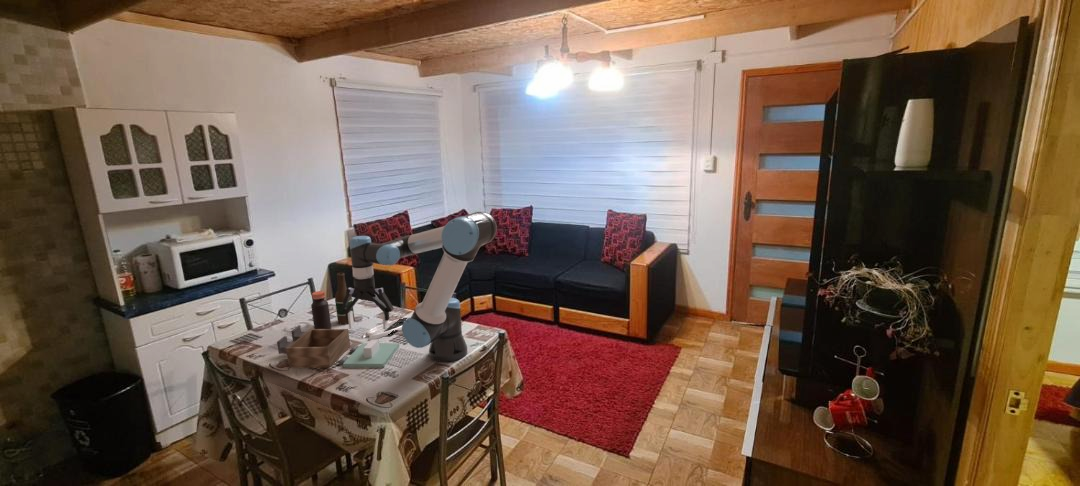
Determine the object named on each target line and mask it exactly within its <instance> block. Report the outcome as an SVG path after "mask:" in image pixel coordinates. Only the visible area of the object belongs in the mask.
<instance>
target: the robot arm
mask: <svg viewBox="0 0 1080 486" xmlns="http://www.w3.org/2000/svg"><path fill="white" fill-rule="evenodd" d="M497 231H498V226H497V222H496V219H495V218H494V217H493V216H492V215H491V214H489V213H487V212H485V211H475V212H472V213H469V214H465V215H461V216H457V217H455V218H453V219H450V220H449V221H448V222H447V223H445V225H444V226H441V227H437V228H431V229H429V230H425V231H421V232H418V233H417V232H416V233H413V234H411V235H404V236H402V237H399V238H396V239H393V240H389V241H386V242H383V243H375V242H372V239H371V237H370V236H368V235H357V236H353V237H351V238H350V239H349V250H350V258H351V259H350V260H351V266H352V267H351V268H352V278H353V287H354V288H353V287H351V286H349V287H347V290H346V296H345V299H344V301H343V304H342V306H341V308H340V311H341V312H342V311H343V312H345V313H346V320H348V321H349V324H348V330H352V329H353V328H355V323H354V322H355V319H354V320H353V311H354V310H353V311H350V310H351V309H352V307H353V308H354V306H355V305H356V304H357V303H358V301H359V300H360V301H364V300H365V301H370V300H371V302H373V303H374V304H376V306H377V307H378V308H379V309H380V310H381V311H382V314H381V316H382V324H383V330H386V329H387V328H388V327H389V326H388V322H389V320H390V313H391V312H392V311H394V306H393V305H392V303H391V300H389V297H388V296H387V295H386V293H385V289H384V287H380V288H377V287H376V283H375V275H374V274H375V272H374V271H375V270H374V264H376V265H382V266H394V265H396V264H397V262H398V261H399V260H401V259H402V258H405V257H408V256H412V255H416V254H420V253H421V254H422V253H425V252H429V251H432V250H437V249H438V250H439V249H441V248H442V251H443V255H442V257H441V259H440V261H439V263H438V265H437V269H436V271H435V272H434V275H433V277H432V280H431V282H430V284H429V286H428V288H427V291H426V294H425V296H424V297H423V300H422V302H420V303H417V305H416V306H415V308H414V311H413V313H412V315H411V316H409V317H410V318H408V319H407V320H406V321H404V322H403V323H402V325H401V326H402V330H401V333H402V335H403V337H404V339H405V340H406V342H407V343H408V344H409V346H410V345H411V346H412V347H414V348H416V349H422V348H425V347H427V346H429V349H428V355H429V356H428V357H429V359H431V360H432V361H434V362H435V361H436V362H438V363H439V362H442V363H446V362H454V361H458V360H460V359H462V358H464V357H465V356H467V354H468V346H467V345H468V344H467V343H466V340H465V338H464V335H463V330H462V313H461V309H462V307H461V302H460V300H459V299H457V298H455V297H453V295H454V293H455V290H456V289H457V286H458V284H459V282H460V279H461V277H462V275H463V273H464V270H465V269H466V266H467V265H468V263H470V262H471V263H472V262H473V261H474V259H475V258H476V255H477V254H478V251H479V250H480V248H481V247H483V246H484V245H486V244H489V243H490V242H492V241H493V240H494V238H495V237H496V234H497ZM376 293H377V294H376ZM353 294H355V297H354V298H353V299H352V302H351V304H350V305H349V306H348V308H346V306H347V304H348V302H349V299H350V297H351V296H352V295H353ZM378 296H379V297H378Z"/></svg>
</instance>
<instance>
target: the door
mask: <svg viewBox="0 0 1080 486" xmlns="http://www.w3.org/2000/svg"><path fill="white" fill-rule="evenodd" d="M379 339H380V338H378V339H371V340H369V341H368V342H366V343H365V342H363V343H361V344H360V345H358V344H354V345H353V346H352V347H350V348H349V353H350V356H349V357H348V356H347V355H344V356H342V357H341V358H340V360H338V365H339V366H342V367H343V368H350V369H351V368H353V369H355V368H361V369H362V368H363V369H364V368H367V369H368V368H371V369H372V368H375V369H376V368H379V369H380V368H385V367H386V365H387V364H388V362H389V361H390V360H391V358H392V357H393V356H394V354H396V351H398V349H399V348H400V343H397V342H394V343H391V342H390V343H389V342H388V343H387V342H385V343H383V342H380V341H379Z"/></svg>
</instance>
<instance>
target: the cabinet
mask: <svg viewBox="0 0 1080 486" xmlns="http://www.w3.org/2000/svg"><path fill="white" fill-rule="evenodd" d="M291 337H292V341H288V336H287V335H285V336H283V337H281V338H280V339H278V340H277V341H276V344H277V345H276V346H277V350H278V355H286V356H287V362H288V368H290V367H293V368H294V367H296V368H297V369H298V368H299V367H300V368H303V369H304V368H310V369H311V368H318V369H319V368H321V369H322V368H331V367H332V366H333V365H334V364H335V363H336V362H338V361H339V359H341V358H342V357H343V355H344V354H345V353H346V352H347V351H348V350H350V349H351V342H350V341H351V340H350V332H349V328H331V329H314V328H310V329H309V330H308V331H302V328H301V326H300V325H299V326H296V327H295V328H293V329H292V330H291ZM293 368H292V369H293ZM290 369H291V368H290Z"/></svg>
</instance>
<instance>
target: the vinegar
mask: <svg viewBox="0 0 1080 486" xmlns="http://www.w3.org/2000/svg"><path fill="white" fill-rule="evenodd" d="M311 297H312V300H313V301H312V303H311V304H310V306H311V314H312V322H313V329H332V323H331V315H330V307H329V301H327V300H326V299H325V298H326V295H325V291H323V290H320V291H314V292H312V293H311Z"/></svg>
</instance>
